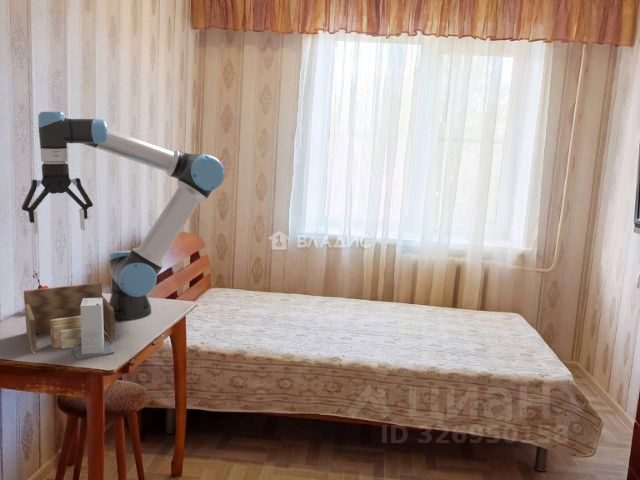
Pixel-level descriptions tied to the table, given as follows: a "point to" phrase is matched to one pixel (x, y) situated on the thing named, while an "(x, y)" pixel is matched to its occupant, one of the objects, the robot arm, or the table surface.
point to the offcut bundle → (66, 331)
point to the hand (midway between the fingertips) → (60, 231)
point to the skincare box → (92, 325)
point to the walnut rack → (62, 308)
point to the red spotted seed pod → (38, 282)
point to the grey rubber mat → (106, 351)
